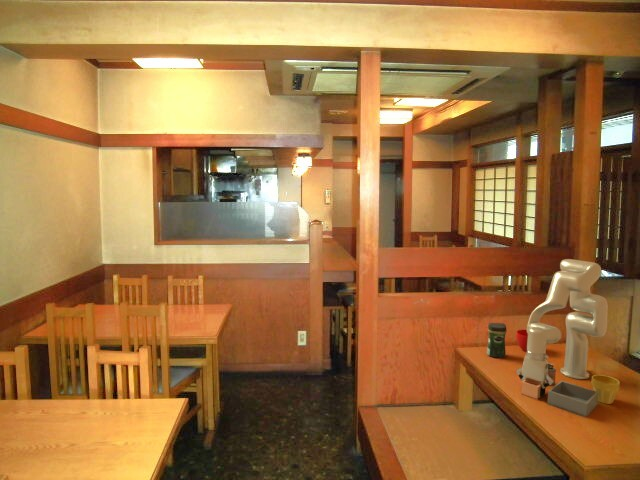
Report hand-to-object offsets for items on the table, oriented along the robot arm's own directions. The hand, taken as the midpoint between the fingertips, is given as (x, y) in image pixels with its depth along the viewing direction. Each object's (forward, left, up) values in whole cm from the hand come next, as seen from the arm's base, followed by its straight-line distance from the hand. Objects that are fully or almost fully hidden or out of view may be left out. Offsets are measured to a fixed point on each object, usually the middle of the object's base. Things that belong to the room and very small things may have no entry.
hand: (533, 392), depth 199 cm
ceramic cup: (-54, -22, -1) cm, 59 cm away
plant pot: (-17, +24, -1) cm, 29 cm away
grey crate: (-3, +16, -1) cm, 16 cm away
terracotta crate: (0, 0, -1) cm, 1 cm away
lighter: (-16, 0, -1) cm, 16 cm away
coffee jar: (-31, -32, -1) cm, 45 cm away
